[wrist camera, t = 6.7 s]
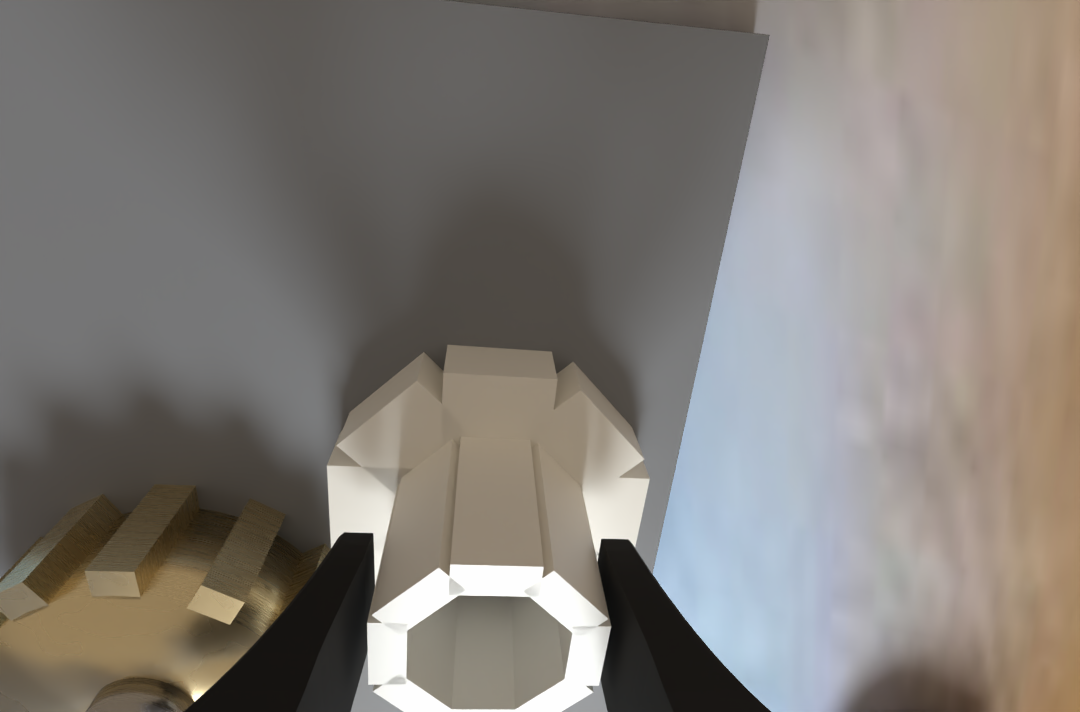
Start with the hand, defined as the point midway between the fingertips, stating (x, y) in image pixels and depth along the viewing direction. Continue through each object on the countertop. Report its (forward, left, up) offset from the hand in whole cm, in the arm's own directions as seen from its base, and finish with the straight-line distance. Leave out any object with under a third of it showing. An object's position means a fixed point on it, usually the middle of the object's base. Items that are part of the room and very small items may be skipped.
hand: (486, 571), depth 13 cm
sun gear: (-8, -5, -3) cm, 10 cm away
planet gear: (0, 0, -3) cm, 3 cm away
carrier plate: (-4, 0, -4) cm, 6 cm away
